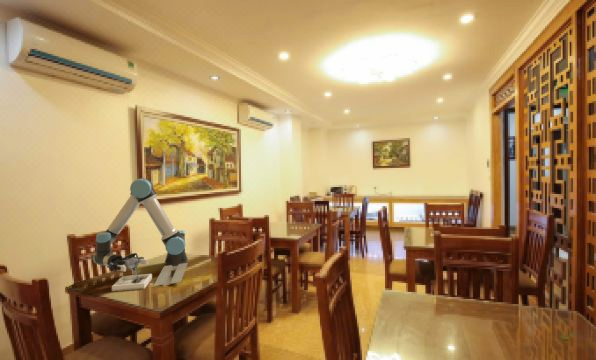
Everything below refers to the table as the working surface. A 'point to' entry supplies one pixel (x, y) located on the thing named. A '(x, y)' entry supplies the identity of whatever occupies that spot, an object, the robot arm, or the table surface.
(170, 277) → the grey display stand
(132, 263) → the silver metal goblet
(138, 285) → the tray
